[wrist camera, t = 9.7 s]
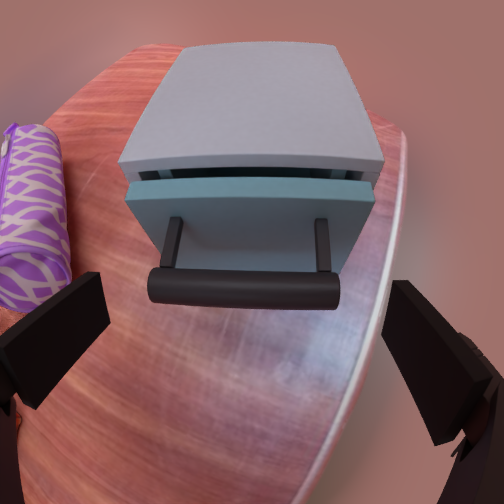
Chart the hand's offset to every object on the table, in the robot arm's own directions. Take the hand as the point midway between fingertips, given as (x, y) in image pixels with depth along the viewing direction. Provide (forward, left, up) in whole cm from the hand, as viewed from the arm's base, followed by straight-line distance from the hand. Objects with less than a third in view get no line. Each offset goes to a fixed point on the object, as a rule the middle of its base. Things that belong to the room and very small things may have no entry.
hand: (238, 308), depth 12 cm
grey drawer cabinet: (-3, -13, -8) cm, 16 cm away
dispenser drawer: (-2, -9, -7) cm, 11 cm away
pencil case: (+20, -14, -8) cm, 26 cm away
